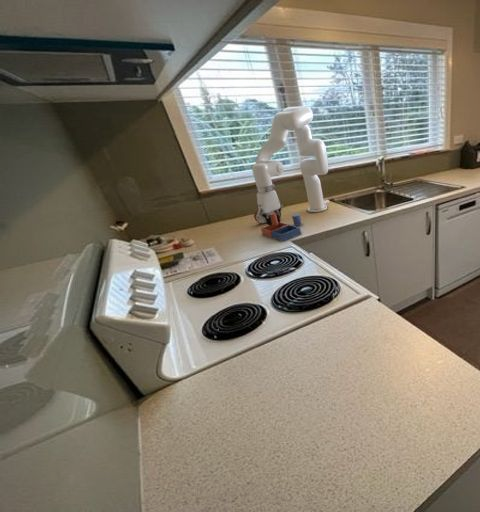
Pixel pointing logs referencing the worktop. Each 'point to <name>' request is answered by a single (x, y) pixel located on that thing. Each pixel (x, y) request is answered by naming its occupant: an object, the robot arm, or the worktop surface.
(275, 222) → the reddish round cylinder
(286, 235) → the blue bin
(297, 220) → the small blue cylinder
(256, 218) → the tin
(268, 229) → the terracotta bin
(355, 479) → the worktop surface
